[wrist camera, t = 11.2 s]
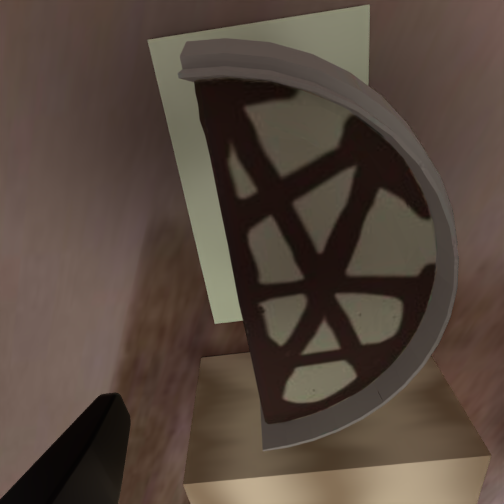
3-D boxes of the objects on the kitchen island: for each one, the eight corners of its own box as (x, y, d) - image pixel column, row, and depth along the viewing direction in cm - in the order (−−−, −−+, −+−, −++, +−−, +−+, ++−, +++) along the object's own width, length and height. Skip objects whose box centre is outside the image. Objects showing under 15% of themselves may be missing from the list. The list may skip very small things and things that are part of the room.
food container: (364, 274, 21) (453, 441, 12) (256, 289, 21) (264, 461, 12) (364, 18, 15) (539, -27, 6) (213, 45, 15) (169, 39, 6)
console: (417, 333, 23) (521, 504, 15) (410, 393, 26) (494, 567, 17) (201, 357, 24) (176, 534, 15) (216, 413, 27) (202, 590, 18)
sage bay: (367, 5, 15) (369, 4, 14) (362, 302, 22) (364, 306, 22) (149, 39, 15) (147, 39, 15) (215, 319, 22) (214, 323, 22)
